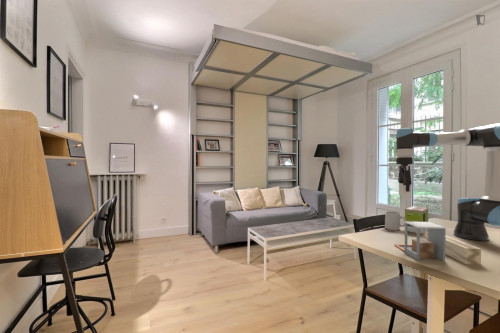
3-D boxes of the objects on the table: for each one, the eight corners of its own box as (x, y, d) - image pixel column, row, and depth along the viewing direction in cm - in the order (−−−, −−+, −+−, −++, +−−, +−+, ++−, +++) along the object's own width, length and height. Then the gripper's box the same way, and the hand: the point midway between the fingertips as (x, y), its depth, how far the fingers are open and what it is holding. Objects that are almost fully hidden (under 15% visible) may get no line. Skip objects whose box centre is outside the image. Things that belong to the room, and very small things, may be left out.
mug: (383, 229, 156) (383, 212, 156) (386, 226, 163) (386, 210, 163) (405, 232, 148) (405, 215, 148) (407, 230, 155) (407, 213, 155)
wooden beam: (436, 244, 127) (436, 231, 127) (480, 265, 101) (481, 248, 101) (424, 244, 127) (424, 231, 127) (466, 264, 101) (466, 248, 101)
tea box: (410, 227, 162) (411, 205, 162) (428, 230, 155) (429, 207, 154) (404, 231, 152) (404, 208, 152) (423, 234, 144) (423, 210, 144)
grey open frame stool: (417, 246, 123) (418, 217, 123) (445, 261, 104) (445, 227, 104) (394, 246, 124) (394, 217, 124) (417, 260, 105) (417, 226, 105)
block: (425, 253, 113) (425, 239, 113) (433, 258, 107) (433, 243, 107) (411, 253, 113) (411, 238, 113) (419, 258, 107) (420, 243, 107)
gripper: (392, 157, 141) (392, 193, 141) (400, 156, 118) (400, 198, 118) (407, 157, 138) (407, 194, 138) (419, 156, 115) (418, 199, 115)
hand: (404, 196), depth 128 cm, fingers open, 13 cm apart
